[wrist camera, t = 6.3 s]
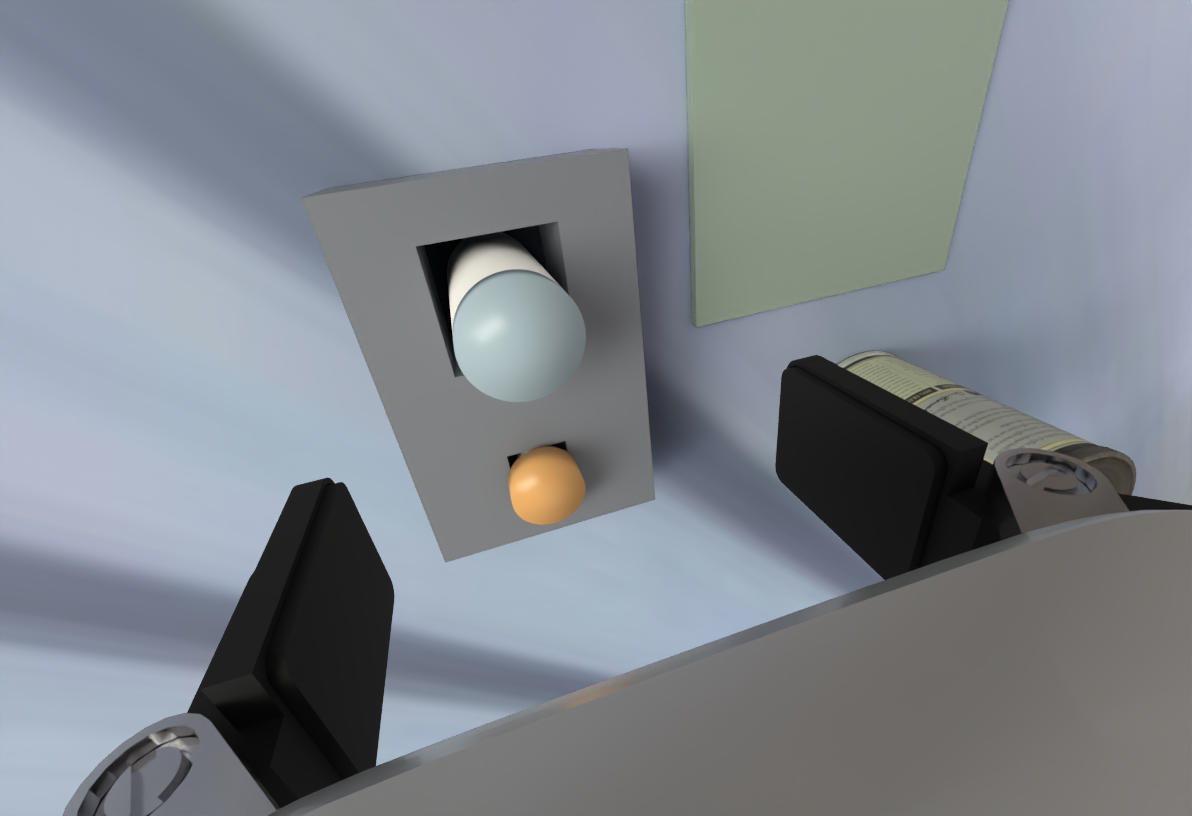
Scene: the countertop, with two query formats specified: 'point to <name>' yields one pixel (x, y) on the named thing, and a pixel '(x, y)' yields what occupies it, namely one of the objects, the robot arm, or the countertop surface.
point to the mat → (827, 143)
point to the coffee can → (986, 416)
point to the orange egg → (545, 485)
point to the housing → (426, 352)
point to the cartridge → (511, 320)
